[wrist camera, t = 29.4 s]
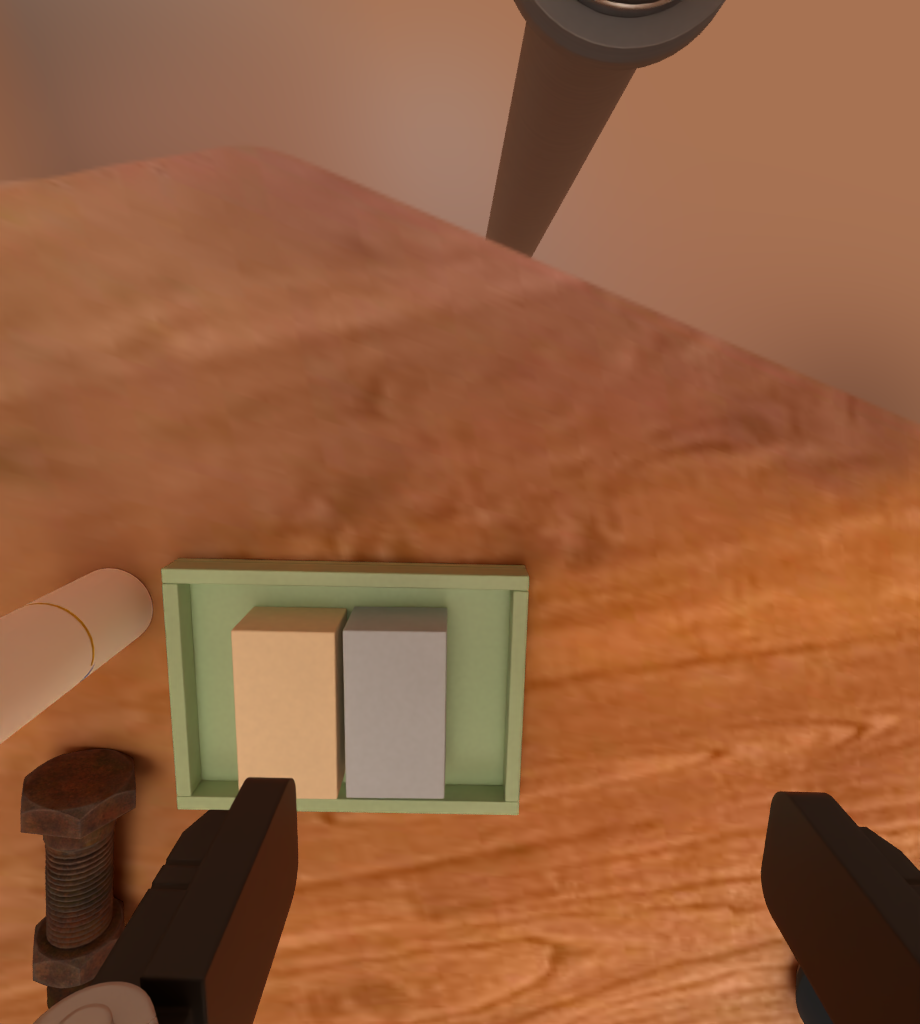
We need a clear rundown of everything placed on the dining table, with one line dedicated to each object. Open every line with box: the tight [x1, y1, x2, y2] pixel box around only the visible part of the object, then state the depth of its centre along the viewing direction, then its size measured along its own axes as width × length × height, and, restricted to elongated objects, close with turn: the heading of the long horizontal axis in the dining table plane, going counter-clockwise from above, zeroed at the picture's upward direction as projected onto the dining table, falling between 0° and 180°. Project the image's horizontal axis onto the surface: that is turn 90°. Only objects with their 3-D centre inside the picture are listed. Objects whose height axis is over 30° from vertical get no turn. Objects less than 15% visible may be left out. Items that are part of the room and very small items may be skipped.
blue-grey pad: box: [343, 606, 447, 799], centre depth 33 cm, size 9×5×4 cm, turn 179°
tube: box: [0, 568, 153, 744], centre depth 27 cm, size 4×4×15 cm
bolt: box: [21, 749, 136, 1009], centre depth 35 cm, size 6×5×15 cm
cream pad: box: [231, 606, 347, 799], centre depth 33 cm, size 9×5×4 cm, turn 179°
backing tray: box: [161, 558, 529, 815], centre depth 34 cm, size 14×19×2 cm
